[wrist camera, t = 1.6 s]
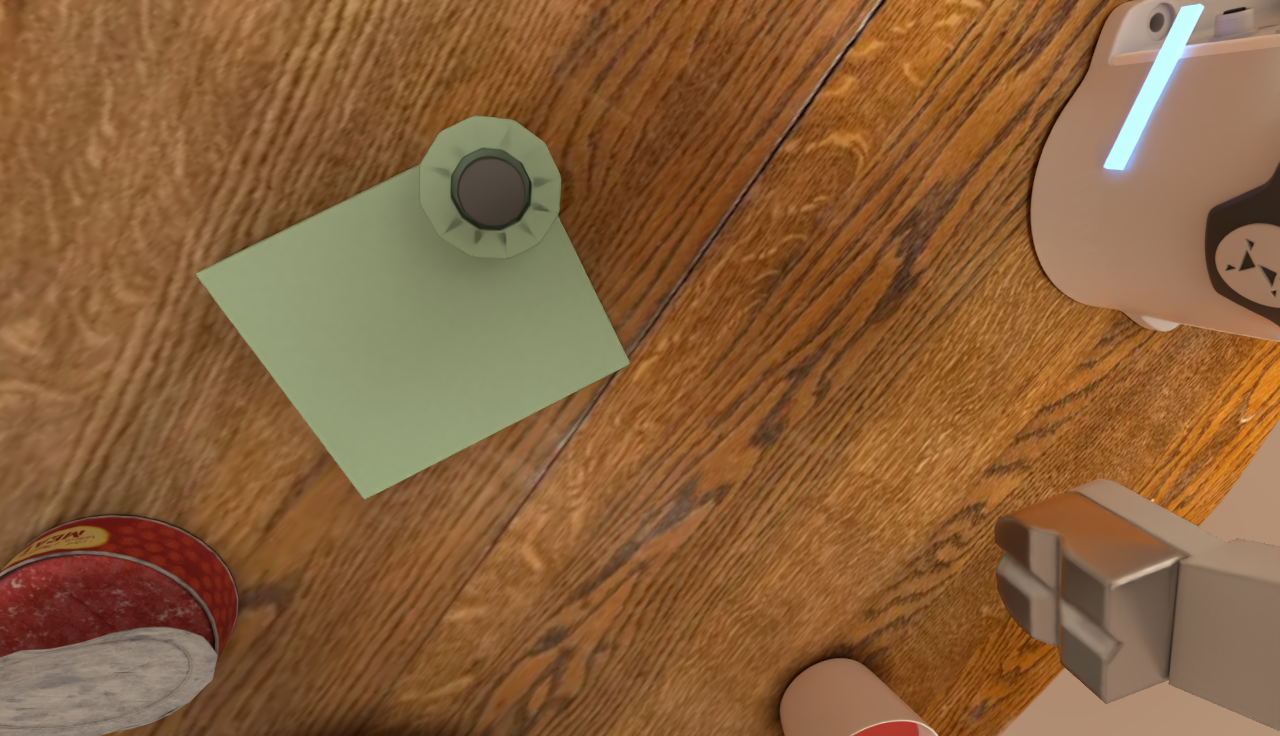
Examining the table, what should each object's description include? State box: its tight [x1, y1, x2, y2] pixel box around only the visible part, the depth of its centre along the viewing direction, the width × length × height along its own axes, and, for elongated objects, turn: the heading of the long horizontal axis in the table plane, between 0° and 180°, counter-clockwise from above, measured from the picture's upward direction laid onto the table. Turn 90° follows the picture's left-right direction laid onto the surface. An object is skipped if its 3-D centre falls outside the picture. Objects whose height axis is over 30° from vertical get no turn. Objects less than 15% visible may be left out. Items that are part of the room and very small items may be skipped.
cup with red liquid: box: [780, 658, 938, 736], centre depth 43 cm, size 9×9×6 cm
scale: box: [196, 115, 630, 500], centre depth 30 cm, size 15×13×4 cm
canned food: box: [0, 515, 238, 736], centre depth 30 cm, size 11×10×10 cm
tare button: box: [457, 156, 526, 227], centre depth 27 cm, size 3×3×1 cm
